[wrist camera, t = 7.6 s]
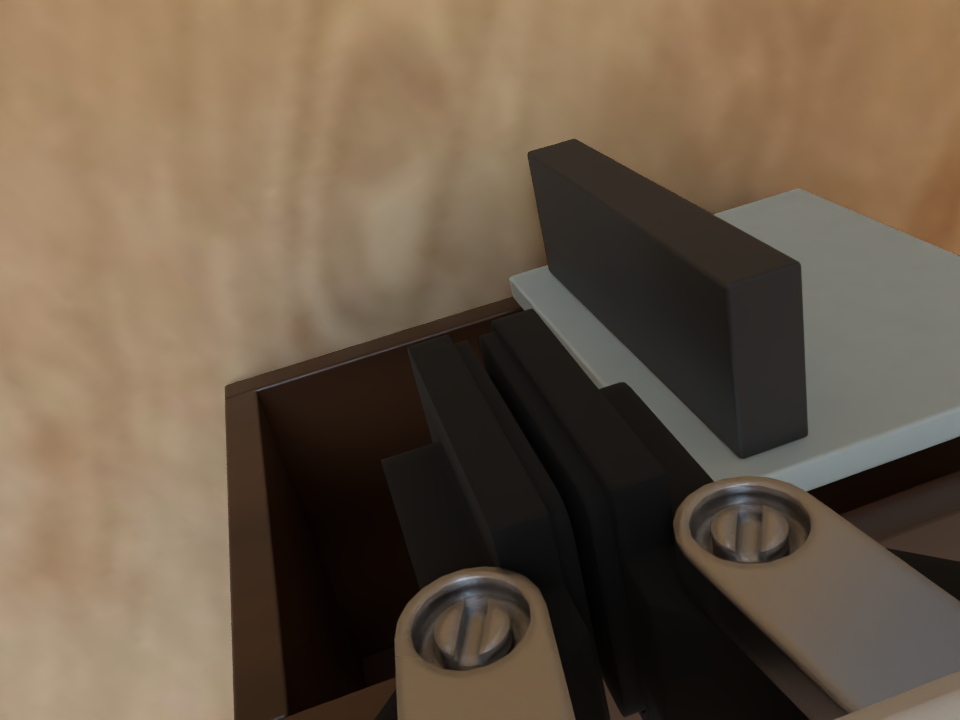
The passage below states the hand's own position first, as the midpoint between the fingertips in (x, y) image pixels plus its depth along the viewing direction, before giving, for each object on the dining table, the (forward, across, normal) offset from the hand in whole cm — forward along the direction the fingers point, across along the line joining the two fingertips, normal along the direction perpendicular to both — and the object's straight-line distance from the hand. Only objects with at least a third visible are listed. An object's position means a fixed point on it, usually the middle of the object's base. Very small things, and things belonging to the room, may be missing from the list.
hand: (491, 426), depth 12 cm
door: (+10, -7, +1) cm, 12 cm away
